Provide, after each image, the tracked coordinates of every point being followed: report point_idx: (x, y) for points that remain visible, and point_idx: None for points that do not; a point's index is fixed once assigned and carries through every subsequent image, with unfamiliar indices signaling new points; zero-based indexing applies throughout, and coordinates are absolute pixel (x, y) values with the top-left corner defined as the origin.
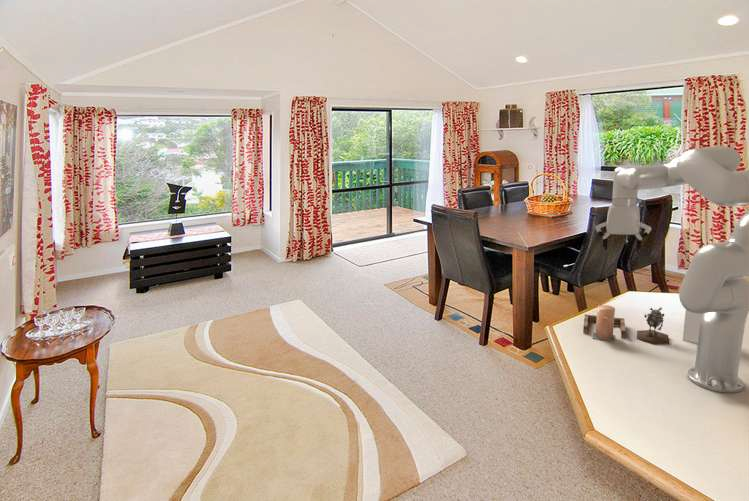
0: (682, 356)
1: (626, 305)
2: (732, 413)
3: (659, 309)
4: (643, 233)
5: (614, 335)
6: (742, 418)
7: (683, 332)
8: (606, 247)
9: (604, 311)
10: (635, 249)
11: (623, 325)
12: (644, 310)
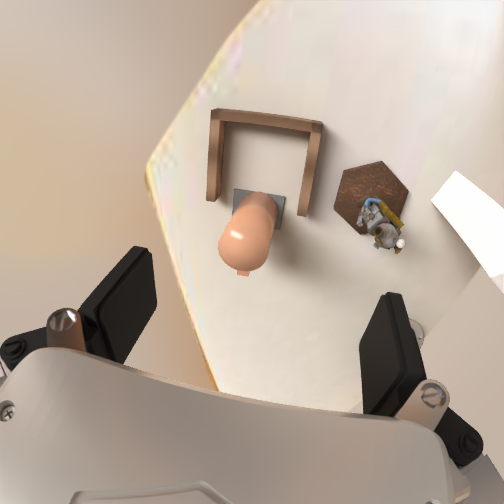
0: (391, 276)
1: None
2: None
3: (396, 244)
4: (448, 451)
5: (283, 199)
6: None
7: (437, 208)
8: (145, 319)
9: (237, 267)
10: (376, 308)
11: (309, 179)
12: (400, 3)
